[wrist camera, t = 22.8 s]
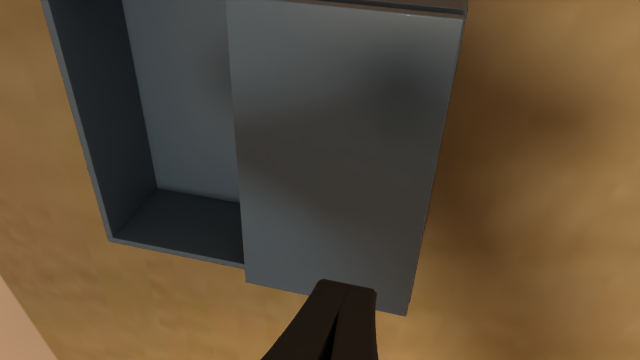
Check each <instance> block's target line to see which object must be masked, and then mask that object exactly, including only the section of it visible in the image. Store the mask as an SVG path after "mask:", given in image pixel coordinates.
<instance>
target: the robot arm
mask: <svg viewBox="0 0 640 360" xmlns="http://www.w3.org/2000/svg"><path fill="white" fill-rule="evenodd" d="M376 299H377V293H376V291H375V290H374V289H372V288H367V287H362V286H357V285H352V284H347V283H342V282H337V281H332V280H327V279H321V280H319V281H318V282H317V284H316V286H315V287H314V289H313V291H312V293H311V294H310V296H309V297H308V299H307V300H306V302H305V303H304V305H303V306H302V308H301V309H300V311H299V312H298V313H297V315H296V316H295V318H294V319H293V320H292V322H291V323H290V324H289V326H288V327H287V328H286V329H285V331H284V332H283V333H282V335H281V336H280V337H279V338H278V340H277V341H276V342H275V344H274V345H273V346H272V347H271V348H270V350H269V351H268V352H267V353H266V354H265V355H264V356H263V358H262V359H261V360H378V353H377V343H376V328H375V307H376Z"/></svg>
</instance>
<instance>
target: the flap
mask: <svg viewBox="0 0 640 360" xmlns="http://www.w3.org/2000/svg"><path fill="white" fill-rule="evenodd" d="M225 12H226V25H227V39H228V52H229V65H230V78H231V91H232V105H233V118H234V131H235V144H236V157H237V171H238V184H239V197H240V210H241V223H242V237H243V250H244V263H245V276H246V282H247V283H252V284H257V285H261V286H266V287H271V288H275V289H280V290H285V291H289V292H294V293H299V294H303V295H308V296H310V294H311V293H312V291H313V289H314V287H315V286H316V284H317V282H318V281H319V280H321V279H327V280H332V281H337V282H342V283H347V284H352V285H357V286H362V287H367V288H372V289H374V290H375V291H376V293H377V299H376V307H375V310H378V311H382V312H387V313H392V314H396V315H401V316H406V315H407V310H408V305H409V300H410V295H411V289H412V284H413V279H414V274H415V269H416V264H417V259H418V254H419V249H420V244H421V239H422V233H423V228H424V223H425V218H426V213H427V208H428V203H429V198H430V193H431V188H432V183H433V178H434V172H435V167H436V162H437V157H438V152H439V147H440V142H441V137H442V132H443V127H444V122H445V116H446V111H447V106H448V101H449V96H450V91H451V86H452V81H453V76H454V71H455V66H456V61H457V55H458V50H459V45H460V40H461V35H462V30H463V25H464V15H458V14H448V13H438V12H427V11H417V10H407V9H397V8H387V7H377V6H367V5H357V4H347V3H337V2H327V1H317V0H225Z"/></svg>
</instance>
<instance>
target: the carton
mask: <svg viewBox="0 0 640 360" xmlns="http://www.w3.org/2000/svg"><path fill="white" fill-rule="evenodd" d="M317 1H327V2H337V3H347V4H357V5H367V6H377V7H387V8H397V9H407V10H417V11H427V12H438V13H448V14H458V15H464V25H463V30H462V35H461V40H460V45H459V50H458V55H457V61H456V66H455V71H454V76H453V81H452V86H451V91H450V96H449V101H448V106H447V111H446V116H445V122H446V117H447V112H448V107H449V102H450V97H451V92H452V87H453V82H454V77H455V72H456V67H457V62H458V57H459V52H460V47H461V42H462V36H463V31H464V26H465V19H466V16H467V11H468V1H467V0H317ZM41 4H42V7H43V11H44V14H45V18H46V21H47V25H48V28H49V32H50V36H51V39H52V43H53V46H54V50H55V53H56V57H57V60H58V64H59V68H60V71H61V75H62V78H63V82H64V85H65V89H66V92H67V96H68V100H69V103H70V107H71V110H72V114H73V117H74V121H75V124H76V128H77V131H78V135H79V139H80V142H81V146H82V149H83V153H84V156H85V160H86V163H87V167H88V171H89V174H90V178H91V181H92V185H93V188H94V192H95V195H96V199H97V203H98V206H99V210H100V213H101V217H102V220H103V224H104V227H105V231H106V235H107V238H108V241H109V242H113V243H118V244H123V245H128V246H133V247H138V248H143V249H148V250H153V251H158V252H162V253H167V254H172V255H177V256H182V257H187V258H192V259H197V260H202V261H207V262H212V263H217V264H222V265H226V266H231V267H236V268H241V269H245V263H244V250H243V237H242V223H241V210H240V197H239V184H238V171H237V157H236V144H235V131H234V118H233V105H232V91H231V78H230V65H229V52H228V39H227V25H226V12H225V0H41ZM445 122H444V127H445ZM444 127H443V132H444ZM443 132H442V137H443ZM442 137H441V142H440V147H439V152H438V157H437V162H436V167H435V172H434V178H435V173H436V168H437V163H438V158H439V153H440V148H441V143H442ZM434 178H433V183H434ZM433 183H432V188H433ZM432 188H431V193H432ZM431 193H430V198H431ZM430 198H429V203H430ZM429 203H428V208H429ZM428 208H427V213H428ZM427 213H426V218H427ZM426 218H425V223H426ZM425 223H424V228H425ZM424 228H423V233H424ZM423 233H422V238H423ZM421 243H422V239H421ZM420 249H421V244H420ZM420 249H419V254H420ZM419 254H418V259H419ZM418 259H417V264H418ZM417 264H416V269H417ZM416 269H415V274H416ZM415 274H414V279H415ZM414 279H413V284H414ZM413 284H412V289H413ZM412 289H411V294H412ZM410 299H411V295H410ZM409 302H410V300H409Z"/></svg>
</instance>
